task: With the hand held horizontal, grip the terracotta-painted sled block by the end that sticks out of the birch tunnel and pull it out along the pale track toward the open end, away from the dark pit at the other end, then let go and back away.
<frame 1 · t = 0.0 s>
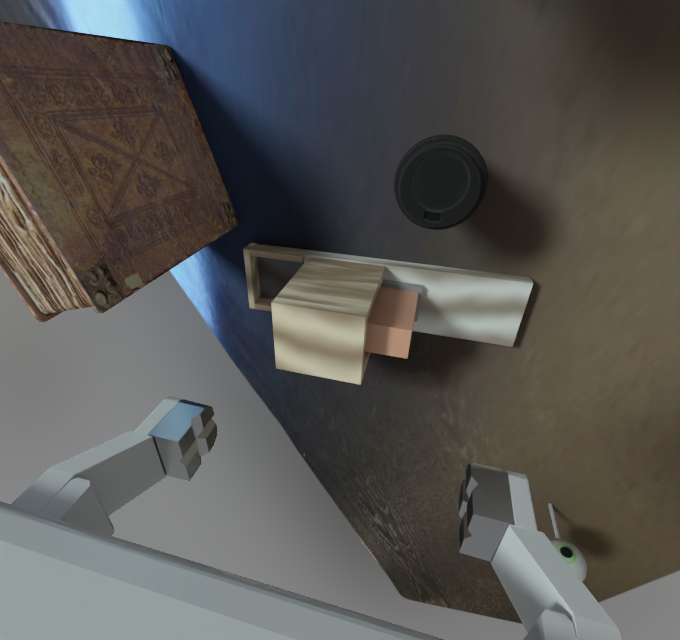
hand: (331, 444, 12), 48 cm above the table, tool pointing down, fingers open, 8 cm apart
sled block: (375, 315, 56), point 8 cm above the table, slide at 0.0 cm
coffee cup: (442, 163, 51), on the table
book: (184, 151, 59), on the table
tunnel track: (378, 290, 63), on the table
lollipop: (550, 503, 78), on the table
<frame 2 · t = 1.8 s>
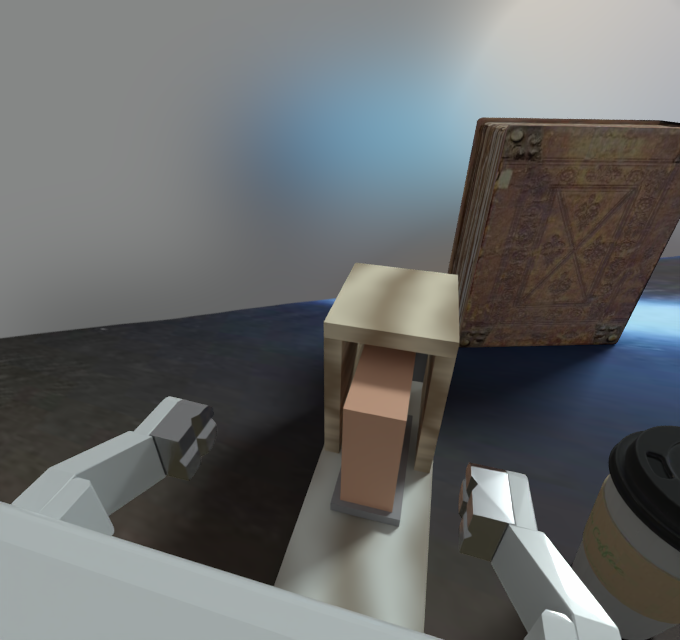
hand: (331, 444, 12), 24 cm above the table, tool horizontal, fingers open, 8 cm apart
sled block: (380, 418, 35), point 8 cm above the table, slide at 0.0 cm
coffee cup: (611, 597, 30), on the table
book: (523, 330, 62), on the table
tunnel track: (375, 466, 40), on the table
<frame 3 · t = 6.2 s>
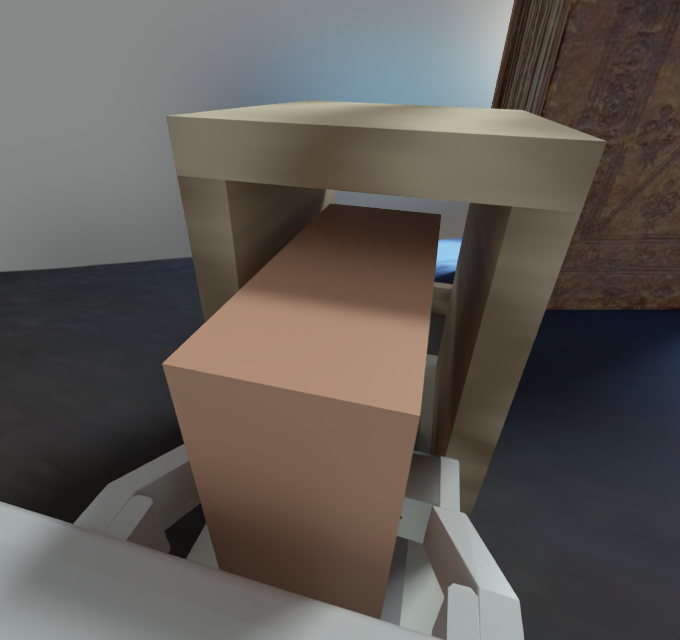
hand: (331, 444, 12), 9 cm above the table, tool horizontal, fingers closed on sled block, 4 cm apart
sled block: (346, 413, 14), point 8 cm above the table, slide at 0.0 cm, touching gripper
book: (581, 290, 42), on the table
tunnel track: (344, 515, 19), on the table
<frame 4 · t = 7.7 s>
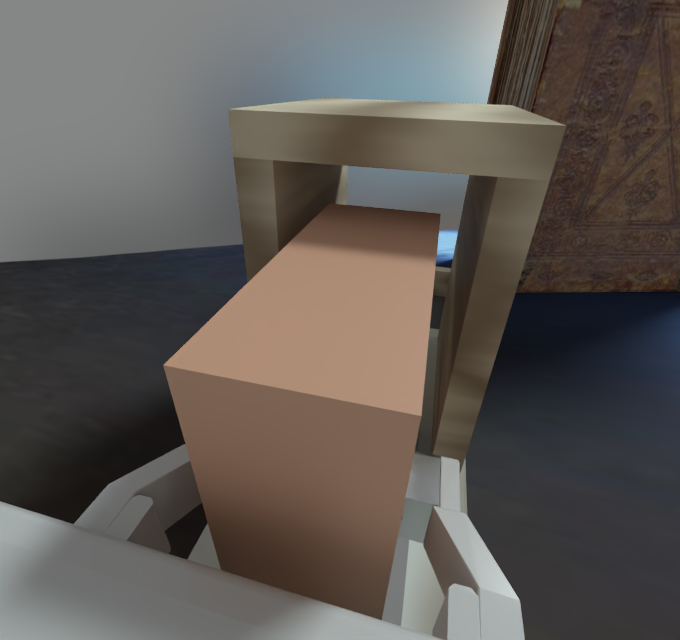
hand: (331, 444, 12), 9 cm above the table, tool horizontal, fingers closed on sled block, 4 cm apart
sled block: (346, 412, 14), point 8 cm above the table, slide at 3.4 cm, touching gripper
book: (572, 275, 45), on the table
tunnel track: (359, 459, 22), on the table
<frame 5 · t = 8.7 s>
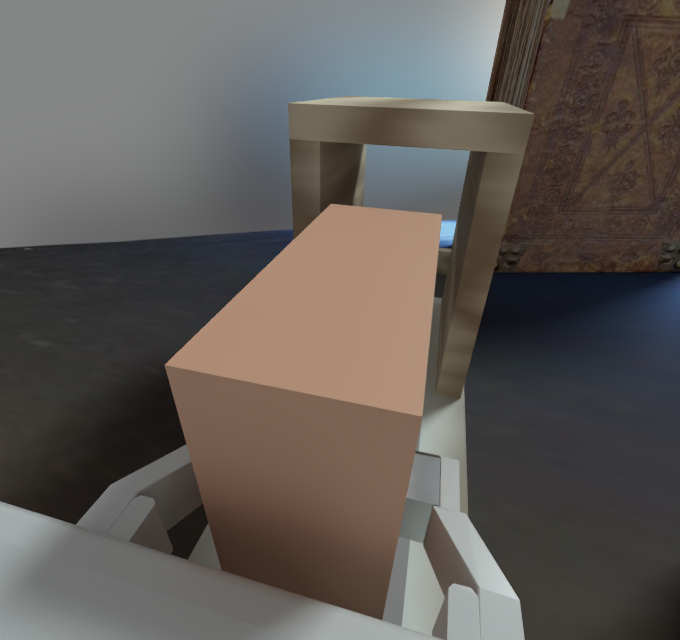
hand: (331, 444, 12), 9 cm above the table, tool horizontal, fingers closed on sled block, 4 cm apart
sled block: (347, 413, 14), point 8 cm above the table, slide at 8.9 cm, touching gripper
book: (563, 258, 49), on the table
tunnel track: (376, 395, 26), on the table
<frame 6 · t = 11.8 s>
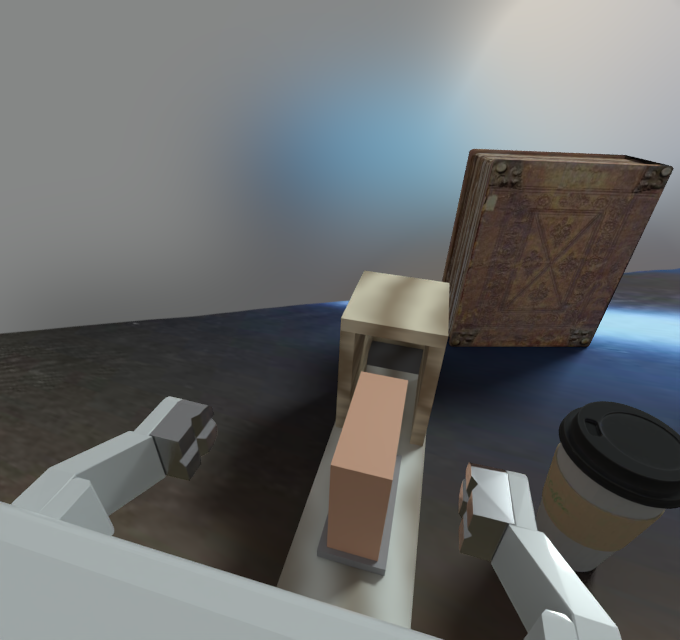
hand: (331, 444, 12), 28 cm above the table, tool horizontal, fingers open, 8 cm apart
sled block: (368, 464, 35), point 8 cm above the table, slide at 8.9 cm
coffee cup: (565, 542, 38), on the table
book: (507, 333, 70), on the table
tunnel track: (378, 441, 47), on the table
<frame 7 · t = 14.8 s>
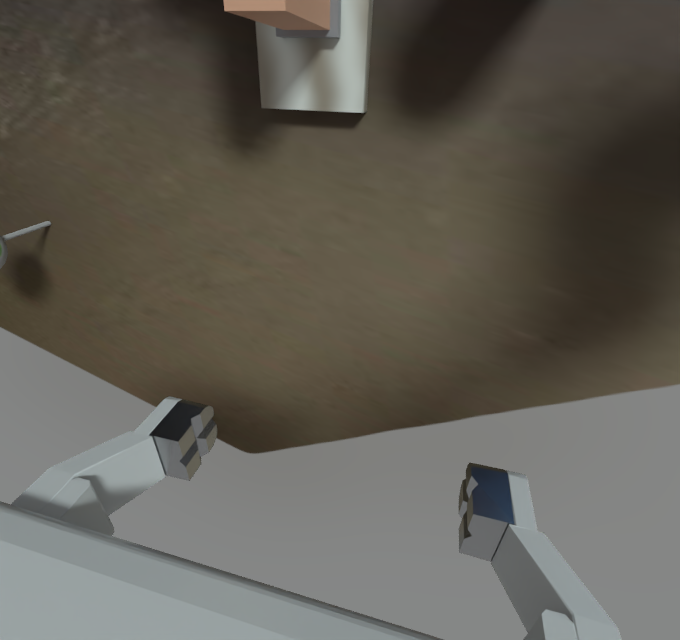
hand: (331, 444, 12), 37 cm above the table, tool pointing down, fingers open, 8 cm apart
lollipop: (50, 222, 59), on the table
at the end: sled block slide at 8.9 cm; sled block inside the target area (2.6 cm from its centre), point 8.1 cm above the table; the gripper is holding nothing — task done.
